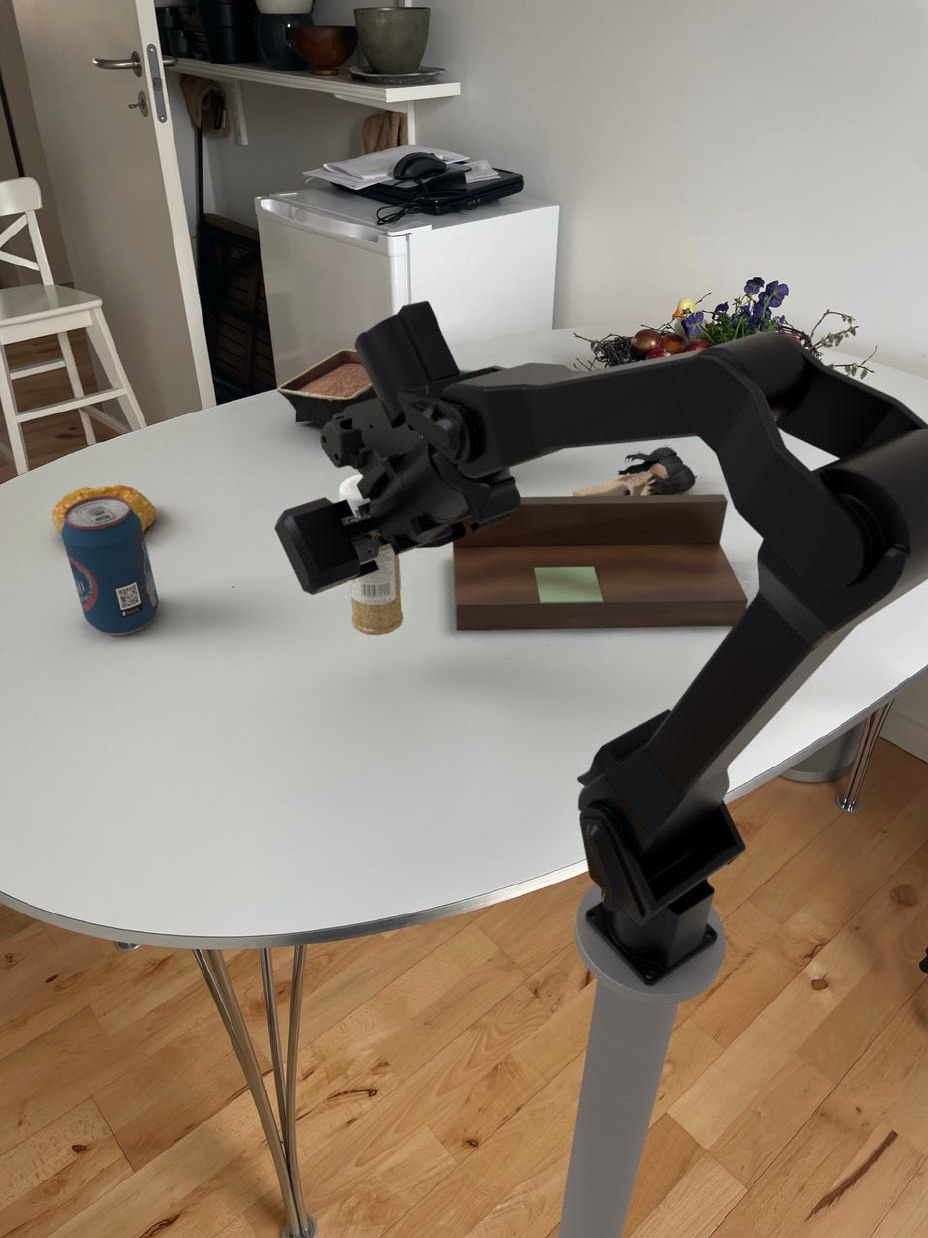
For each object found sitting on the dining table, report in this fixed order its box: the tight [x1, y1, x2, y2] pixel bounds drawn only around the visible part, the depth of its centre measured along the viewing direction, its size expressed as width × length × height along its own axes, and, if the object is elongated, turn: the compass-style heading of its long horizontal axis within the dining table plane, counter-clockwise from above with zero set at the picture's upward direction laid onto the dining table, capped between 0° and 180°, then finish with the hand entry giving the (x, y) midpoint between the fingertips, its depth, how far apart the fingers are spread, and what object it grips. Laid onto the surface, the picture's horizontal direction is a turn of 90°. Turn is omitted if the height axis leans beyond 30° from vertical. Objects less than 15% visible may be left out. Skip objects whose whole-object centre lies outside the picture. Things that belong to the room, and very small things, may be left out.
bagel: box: [50, 484, 158, 535], centre depth 104 cm, size 10×11×5 cm
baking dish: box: [276, 348, 378, 429], centre depth 128 cm, size 14×18×10 cm
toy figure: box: [572, 444, 698, 496], centre depth 110 cm, size 7×6×15 cm
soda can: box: [61, 496, 160, 636], centre depth 88 cm, size 7×7×12 cm
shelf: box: [452, 493, 749, 631], centre depth 93 cm, size 12×28×8 cm, turn 92°
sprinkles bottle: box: [338, 473, 404, 636], centre depth 78 cm, size 5×5×14 cm
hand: (364, 551), depth 79 cm, fingers closed on sprinkles bottle, 4 cm apart
